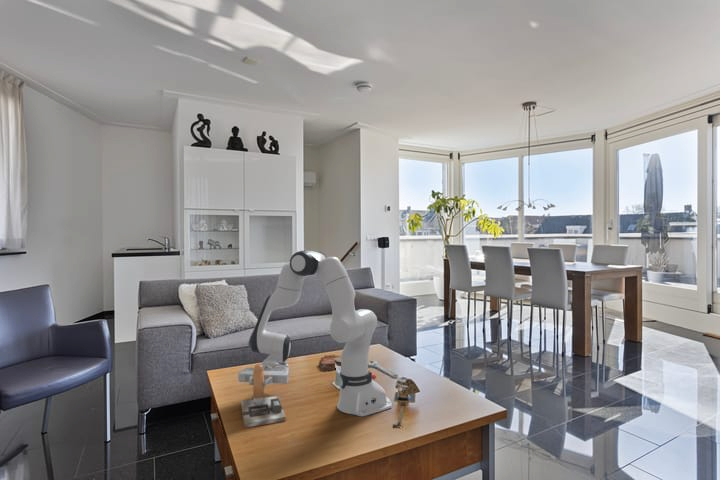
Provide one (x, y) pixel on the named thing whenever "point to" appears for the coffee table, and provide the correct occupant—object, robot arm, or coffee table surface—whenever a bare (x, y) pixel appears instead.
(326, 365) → the pottery shard
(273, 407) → the block
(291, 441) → the coffee table surface
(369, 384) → the robot arm
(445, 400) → the coffee table surface
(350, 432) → the coffee table surface
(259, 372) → the tan rounded rod
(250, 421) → the metal mounting plate
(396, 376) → the adjustable wrench
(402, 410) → the tactical tomahawk
